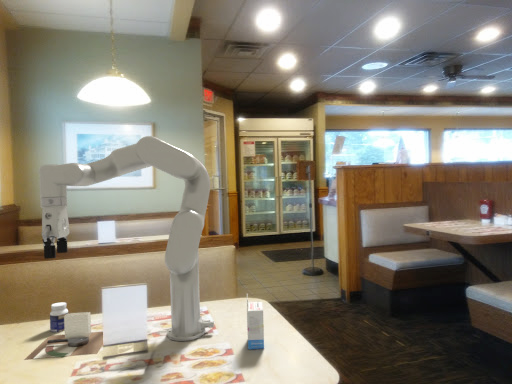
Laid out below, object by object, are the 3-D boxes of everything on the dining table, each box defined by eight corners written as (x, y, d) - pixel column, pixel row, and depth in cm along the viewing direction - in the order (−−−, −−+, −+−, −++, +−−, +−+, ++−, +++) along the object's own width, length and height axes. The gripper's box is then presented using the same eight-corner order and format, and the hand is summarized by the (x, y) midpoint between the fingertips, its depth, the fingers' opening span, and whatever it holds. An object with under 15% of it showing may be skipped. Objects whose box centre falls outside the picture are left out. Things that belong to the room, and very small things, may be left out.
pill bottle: (61, 336, 124) (59, 307, 124) (46, 335, 125) (45, 306, 125) (72, 329, 130) (71, 301, 130) (58, 328, 131) (57, 301, 131)
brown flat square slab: (112, 334, 125) (112, 330, 125) (96, 358, 107) (96, 353, 107) (50, 339, 122) (49, 334, 122) (23, 364, 105) (23, 359, 105)
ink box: (264, 349, 110) (263, 300, 109) (248, 350, 110) (246, 300, 109) (263, 337, 118) (261, 291, 118) (247, 338, 118) (246, 292, 118)
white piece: (93, 337, 119) (92, 310, 118) (87, 345, 113) (85, 316, 112) (52, 340, 117) (51, 312, 117) (43, 349, 111) (42, 319, 111)
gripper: (55, 203, 111) (58, 259, 111) (75, 201, 128) (77, 250, 128) (28, 204, 110) (31, 261, 110) (52, 202, 127) (55, 251, 127)
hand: (56, 255), depth 119 cm, fingers open, 9 cm apart
